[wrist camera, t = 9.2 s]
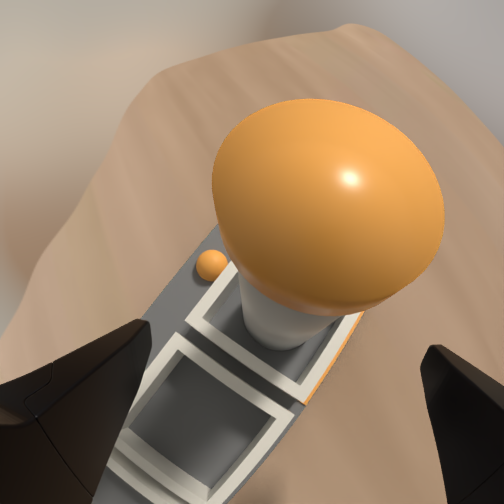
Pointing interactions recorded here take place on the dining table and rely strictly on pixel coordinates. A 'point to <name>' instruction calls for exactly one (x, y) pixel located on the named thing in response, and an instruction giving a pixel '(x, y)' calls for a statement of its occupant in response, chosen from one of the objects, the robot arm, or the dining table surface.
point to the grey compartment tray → (210, 391)
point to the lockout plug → (321, 215)
